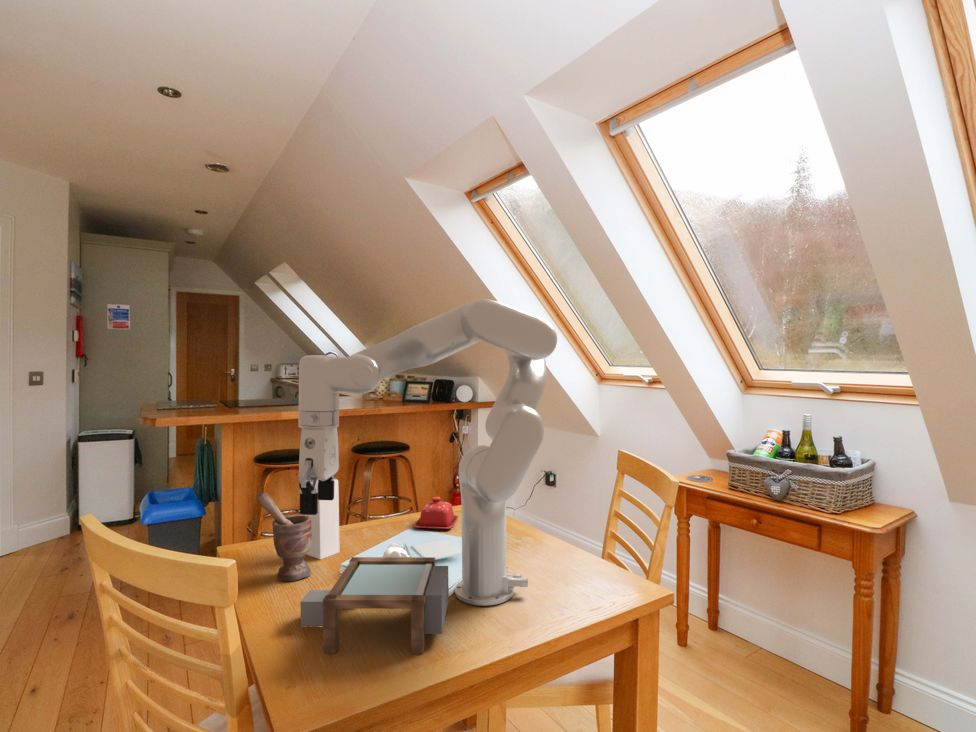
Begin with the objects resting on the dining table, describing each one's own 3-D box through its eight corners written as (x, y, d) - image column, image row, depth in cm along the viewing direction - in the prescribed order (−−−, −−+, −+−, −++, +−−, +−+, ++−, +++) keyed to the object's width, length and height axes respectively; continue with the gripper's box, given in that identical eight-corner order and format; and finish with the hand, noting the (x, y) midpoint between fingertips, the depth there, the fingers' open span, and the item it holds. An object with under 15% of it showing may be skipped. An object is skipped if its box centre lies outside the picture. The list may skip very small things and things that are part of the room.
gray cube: (334, 614, 110) (334, 589, 110) (327, 627, 105) (326, 601, 105) (310, 614, 110) (309, 589, 110) (301, 627, 105) (300, 601, 105)
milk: (325, 547, 146) (323, 464, 145) (339, 552, 143) (338, 467, 142) (305, 554, 141) (303, 468, 141) (320, 560, 138) (318, 472, 137)
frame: (435, 602, 115) (435, 557, 115) (423, 654, 96) (422, 600, 96) (352, 602, 115) (352, 557, 115) (323, 653, 96) (322, 599, 96)
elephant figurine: (378, 568, 133) (377, 543, 133) (411, 564, 135) (411, 540, 135) (380, 579, 126) (380, 553, 126) (415, 575, 128) (415, 550, 128)
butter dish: (412, 530, 160) (411, 501, 159) (423, 518, 171) (423, 490, 171) (451, 532, 158) (450, 503, 157) (459, 520, 169) (459, 492, 169)
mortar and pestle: (262, 589, 122) (260, 499, 121) (256, 575, 129) (254, 490, 128) (316, 578, 127) (314, 491, 126) (308, 565, 135) (306, 483, 134)
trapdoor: (449, 598, 113) (448, 563, 112) (441, 636, 98) (441, 596, 98) (360, 597, 113) (360, 563, 113) (340, 635, 98) (339, 596, 98)
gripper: (323, 425, 98) (321, 521, 99) (350, 414, 116) (349, 495, 116) (281, 424, 99) (280, 519, 99) (315, 413, 116) (314, 494, 117)
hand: (317, 506), depth 108 cm, fingers open, 9 cm apart
